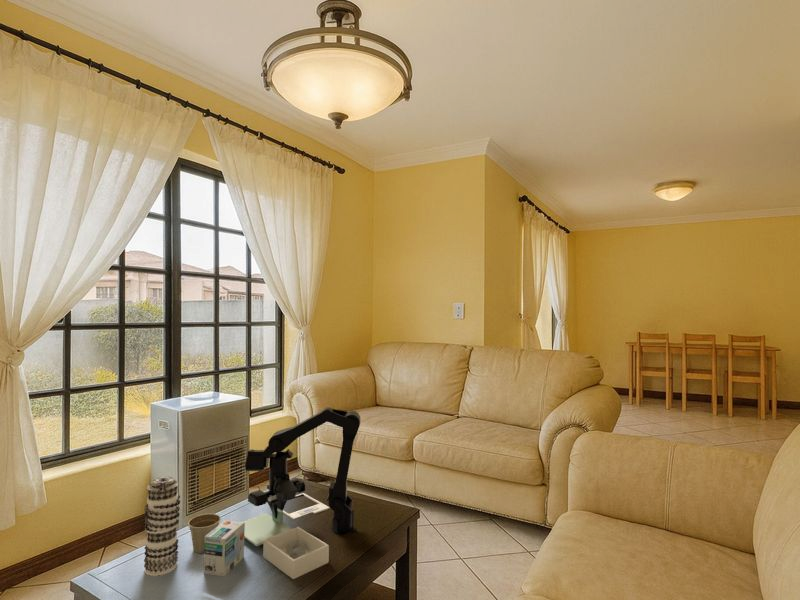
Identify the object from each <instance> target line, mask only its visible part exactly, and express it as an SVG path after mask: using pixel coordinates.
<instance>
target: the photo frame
mask: <svg viewBox="0 0 800 600" xmlns="http://www.w3.org/2000/svg"><path fill="white" fill-rule="evenodd" d="M302 495H303V496H304V497H305V498H307V499H309V500H310V501H312V502H314V503H316V504H314V505H311V506H309V507H305V508H302V509H298V510H297V511H293V512H291V513H288V512H287V511H285V510H284V509H283V515H286V516H287V517H289V518H290V519H291V520H294V519H297V518H300V517H302V516H305V515H307V514H310V513H314V514H319V513H321V512H325V511H327V510H331V508H330V507H329V505H326V504H324V503H323V502H321V501H319V500H317V499H315V498H314V497H311V496H310V495H308V494H307V493H304V492H301V493H299V494H296V496H295V498H296V497H299V496H302Z"/></svg>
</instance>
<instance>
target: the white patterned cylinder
mask: <svg viewBox="0 0 800 600" xmlns="http://www.w3.org/2000/svg"><path fill="white" fill-rule="evenodd" d="M178 485H179V481H177V480H176V479H175V478H174V477H172V476H162V477H157V478H154V479H153V480H152V481H151V482H150V484H148V485H147V487H146V489H147V490H148V491H147V498H146V504H145V505H144V514H143V515H144V517H145V519H144V520H145V521H144V524H145V525H144V530H145V531H146V536H147V537H146V540H145V545H144V549H145V551H144V560H143V561H144V565H143V567H144V574H145V573H146V574H147V576H149V575H150V577H158V575H160V576H164V575H167V574H169V573H171V572H173V571H174V570H175V569H177V567H178V564H177V563H178V561H179V560H178V559H179V556H178V554H179V551H178V549H179V548H178V547H179V545H178V544H179V539H178V532H177V528H178V526H179V522H180V520H179V519H178V518H179V517H180V513H179V511H180V510H181V509H180V506H179V505H180V504H181V500H180V498H181V495H180V494H179V493H178ZM172 570H173V571H172ZM166 573H167V574H166ZM146 574H145V575H146ZM163 574H164V575H163Z"/></svg>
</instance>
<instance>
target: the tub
mask: <svg viewBox="0 0 800 600" xmlns="http://www.w3.org/2000/svg"><path fill="white" fill-rule="evenodd" d="M297 540H299V541H300V542H302V543H303V544H305V553H304V554H302V555H303V556H301V557H298V558H296V559H293V558H291V557H290V555H289V554H287V553H286V545H287V544H289V543H292V542H294V541H297ZM262 546H263V550H262V551H263V552H262V555H263V556H262V557H263V558H265V560H267V561H268V562H270V563H271V564H272V565H273V566H275V567H276V568H278V569H279V570H280V571H281V572H283V573H284V574H286V576H288V577H289V578H290V579H292V580H294V579H297V578H299V577H301V576H303V575H306V574H307V573H309V572H312V571H315V570H316V569H318V568H320V567H323V566H325V565H326V564H329V559H330V550H329V549H330V546H329V544H327V543H326V542H324V541H322V540H321V539H320V538H317V537H316V536H315V535H312V534H311V533H309V532H307V531H306V530H304V529H303V528H301V527H299V526H297V527H294V528H292V529H291V530H288V531H286V532H283V533H280V534H278V535H275V536H273V537H270V538H267V539H265V540H264V542H263V544H262Z"/></svg>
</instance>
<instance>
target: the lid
mask: <svg viewBox="0 0 800 600" xmlns="http://www.w3.org/2000/svg"><path fill="white" fill-rule="evenodd" d="M241 522H242V523H245V533H244V539H245V540H246V541H248V542H250V543H251V544H252V545H254V546H256V547H259V546H261V545H262V546H263V542H264V540H265V539H267V538H270V537H273V536H275V535H278V534H280V533H283V532H286V531H288V530H291V529H293V528H291V527H290V526H289V525H286V524H285V523H284V513H283V511H282V510H280V509H278V508H277V519H275V518H274V516H273V514H272V513H271V515H270V514H269V513H267V512H264V513H262V514H259V515H257V516H254V517H252V518H248V519H247V520H244V521H241Z"/></svg>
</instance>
